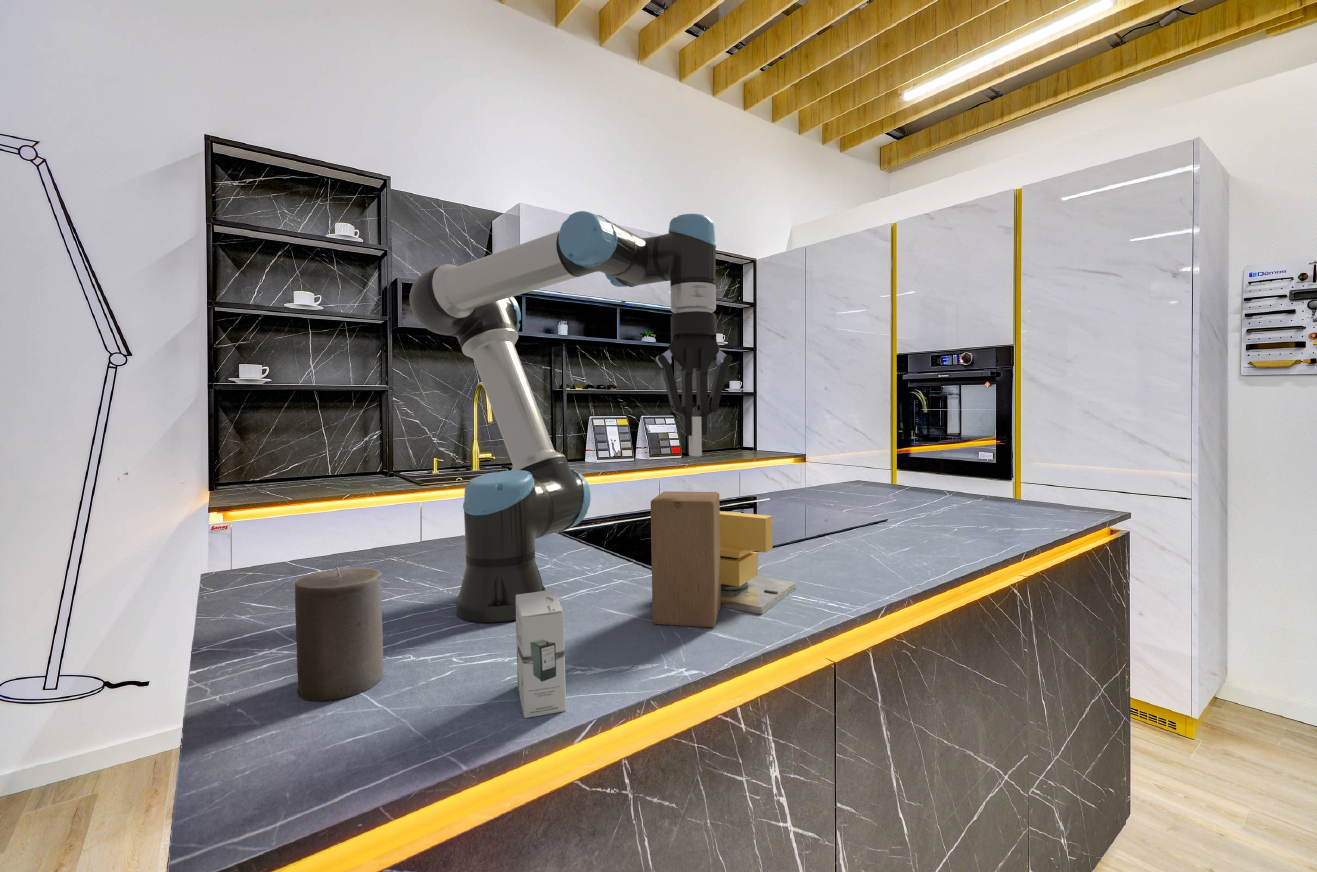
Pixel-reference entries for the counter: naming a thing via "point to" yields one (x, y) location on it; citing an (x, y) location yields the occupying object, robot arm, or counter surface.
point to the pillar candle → (338, 633)
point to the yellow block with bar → (742, 545)
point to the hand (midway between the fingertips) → (695, 455)
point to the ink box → (540, 653)
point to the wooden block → (685, 558)
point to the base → (755, 593)
